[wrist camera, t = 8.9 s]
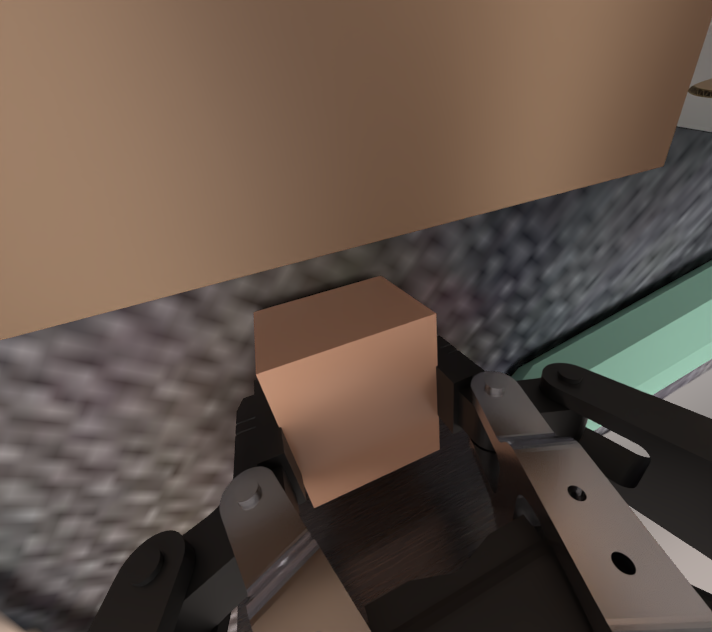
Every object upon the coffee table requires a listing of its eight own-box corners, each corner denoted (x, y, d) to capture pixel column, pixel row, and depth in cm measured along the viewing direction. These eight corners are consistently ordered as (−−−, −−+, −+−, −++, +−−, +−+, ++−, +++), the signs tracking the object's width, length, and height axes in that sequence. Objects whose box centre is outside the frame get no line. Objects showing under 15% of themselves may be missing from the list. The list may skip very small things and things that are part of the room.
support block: (380, 275, 11) (436, 313, 8) (394, 387, 14) (439, 449, 11) (253, 312, 10) (256, 374, 7) (297, 425, 13) (314, 508, 9)
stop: (444, 387, 17) (581, 528, 10) (444, 415, 18) (566, 559, 11) (241, 471, 14) (234, 746, 7) (257, 498, 15) (265, 755, 8)
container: (587, 483, 15) (895, 285, 18) (552, 386, 14) (882, 197, 17) (507, 429, 20) (749, 288, 23) (479, 359, 20) (734, 222, 23)
